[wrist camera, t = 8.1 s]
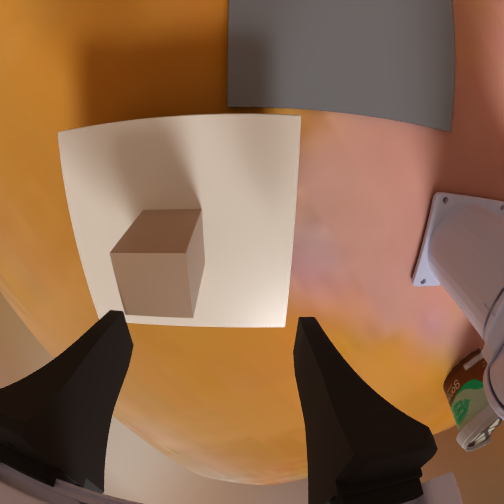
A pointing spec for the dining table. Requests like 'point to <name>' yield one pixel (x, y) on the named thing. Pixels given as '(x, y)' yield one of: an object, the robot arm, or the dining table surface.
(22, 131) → the dining table surface
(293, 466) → the dining table surface
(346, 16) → the mat
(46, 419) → the robot arm
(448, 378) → the food container
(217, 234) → the lid
